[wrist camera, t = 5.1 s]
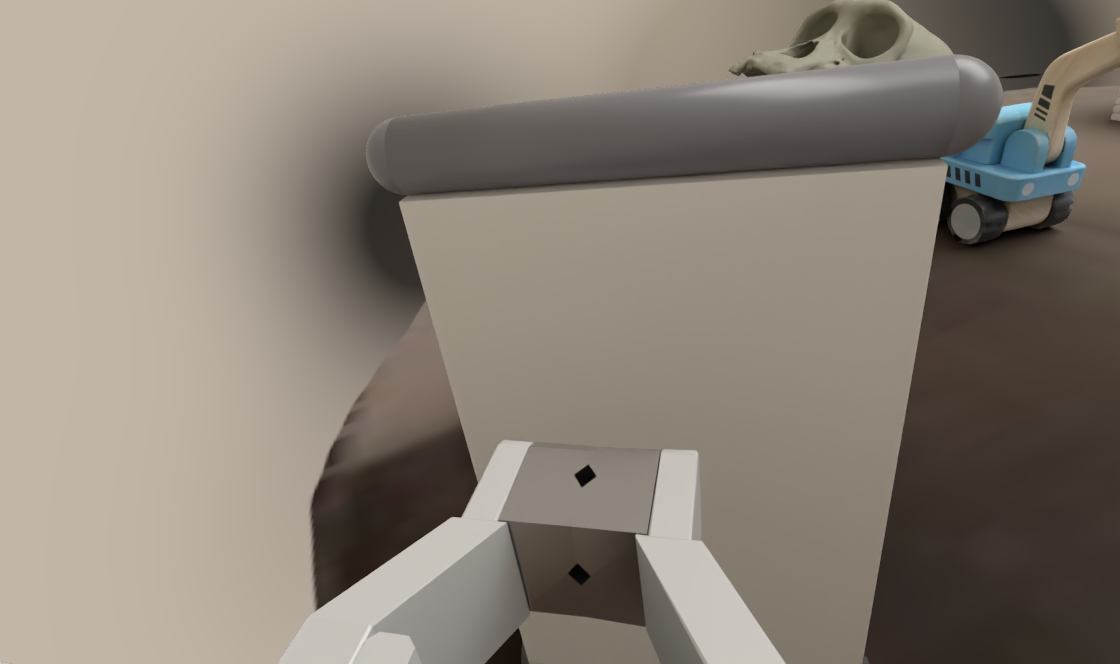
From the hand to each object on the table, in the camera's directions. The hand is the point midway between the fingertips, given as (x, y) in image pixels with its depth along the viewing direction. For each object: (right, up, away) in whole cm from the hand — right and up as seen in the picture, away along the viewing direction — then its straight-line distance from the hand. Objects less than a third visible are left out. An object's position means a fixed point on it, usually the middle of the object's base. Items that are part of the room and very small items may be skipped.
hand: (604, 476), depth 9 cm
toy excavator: (+38, +10, +43) cm, 58 cm away
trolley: (+5, -9, +18) cm, 21 cm away
